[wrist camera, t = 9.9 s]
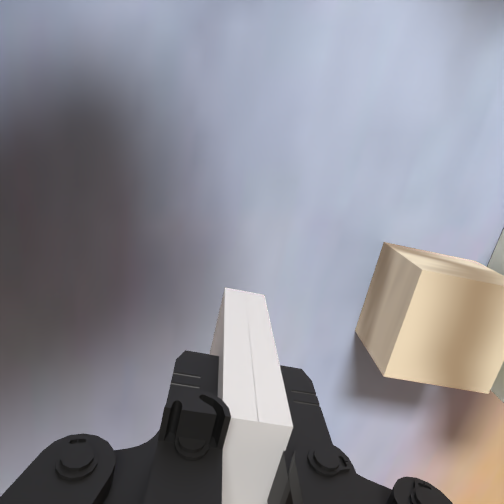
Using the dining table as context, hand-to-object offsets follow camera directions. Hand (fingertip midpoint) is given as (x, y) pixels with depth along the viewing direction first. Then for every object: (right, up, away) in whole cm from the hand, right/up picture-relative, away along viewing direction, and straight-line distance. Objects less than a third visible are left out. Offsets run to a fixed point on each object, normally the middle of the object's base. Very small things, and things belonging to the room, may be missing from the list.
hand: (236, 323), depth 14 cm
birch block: (+11, 0, +10) cm, 15 cm away
